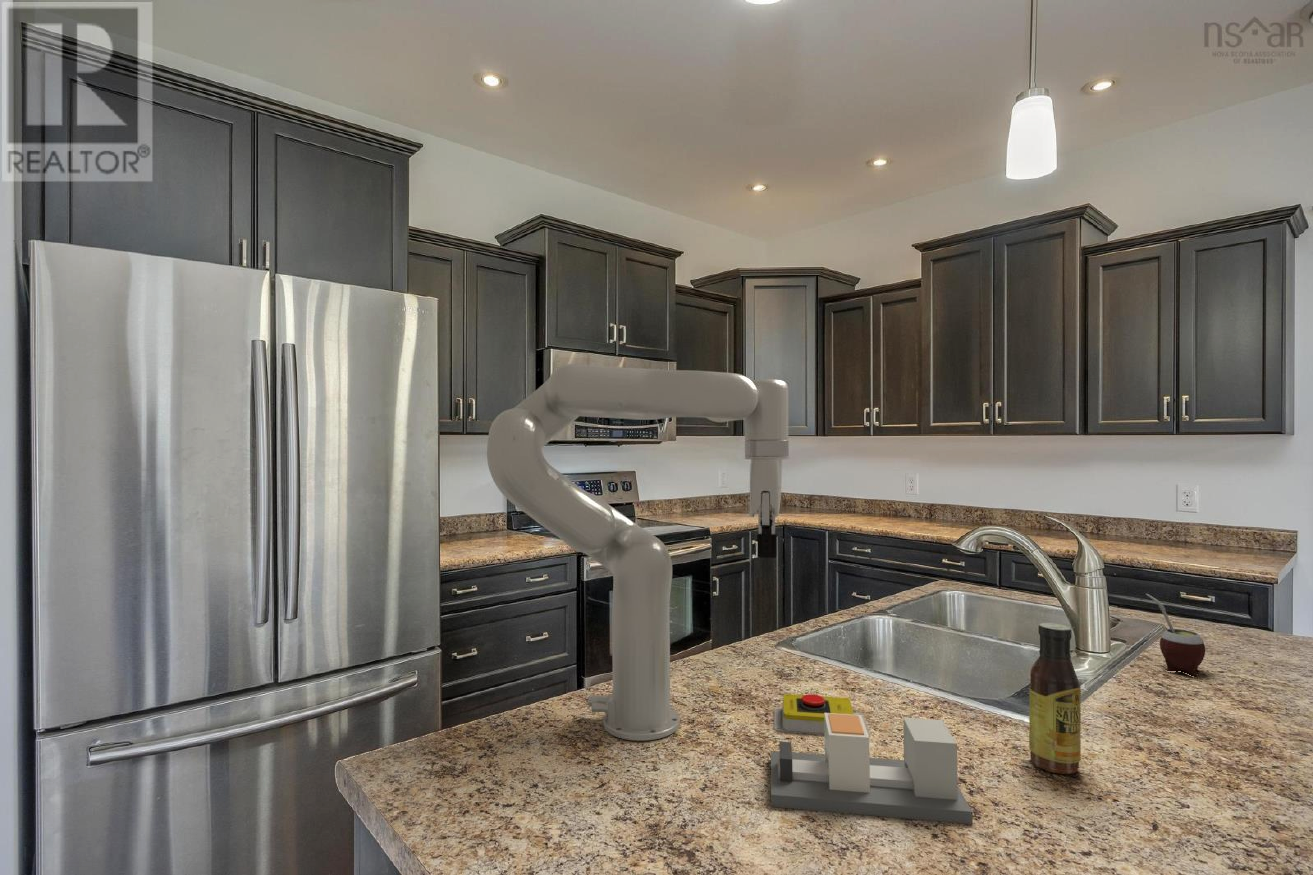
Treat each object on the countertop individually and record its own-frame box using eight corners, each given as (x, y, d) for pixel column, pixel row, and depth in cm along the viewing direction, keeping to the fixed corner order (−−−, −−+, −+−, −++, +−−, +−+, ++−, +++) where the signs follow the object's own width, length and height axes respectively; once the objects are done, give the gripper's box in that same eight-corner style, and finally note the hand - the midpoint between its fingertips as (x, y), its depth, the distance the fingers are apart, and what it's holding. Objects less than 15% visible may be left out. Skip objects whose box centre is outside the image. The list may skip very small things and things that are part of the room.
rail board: (771, 806, 82) (770, 739, 82) (770, 761, 94) (770, 702, 94) (972, 824, 78) (971, 753, 78) (945, 774, 90) (944, 713, 90)
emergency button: (774, 685, 113) (863, 691, 110) (774, 710, 113) (863, 717, 110) (773, 706, 104) (870, 713, 101) (773, 734, 104) (870, 741, 101)
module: (829, 789, 83) (828, 733, 83) (824, 763, 90) (824, 711, 90) (869, 792, 82) (869, 736, 82) (862, 765, 89) (861, 713, 89)
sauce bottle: (1063, 781, 87) (1061, 635, 88) (1019, 761, 93) (1017, 623, 93) (1091, 770, 90) (1089, 628, 91) (1047, 751, 96) (1045, 618, 96)
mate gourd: (1215, 678, 125) (1213, 601, 125) (1174, 678, 125) (1173, 601, 125) (1184, 665, 133) (1182, 592, 133) (1145, 665, 133) (1144, 592, 133)
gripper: (747, 450, 120) (748, 549, 119) (741, 451, 105) (741, 563, 105) (789, 450, 118) (789, 550, 118) (788, 451, 103) (788, 565, 103)
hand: (767, 556), depth 111 cm, fingers closed
